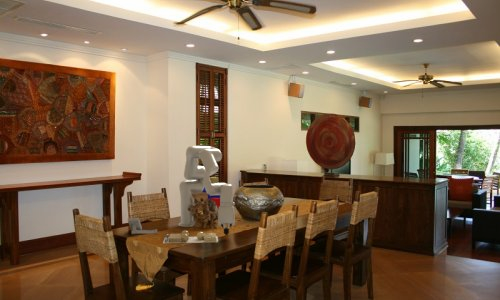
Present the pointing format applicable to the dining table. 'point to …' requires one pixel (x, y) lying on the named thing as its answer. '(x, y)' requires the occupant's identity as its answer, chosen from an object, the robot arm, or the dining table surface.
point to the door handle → (138, 227)
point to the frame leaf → (179, 237)
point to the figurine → (215, 197)
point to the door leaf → (206, 237)
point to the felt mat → (190, 240)
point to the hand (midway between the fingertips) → (226, 234)
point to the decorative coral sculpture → (205, 212)
